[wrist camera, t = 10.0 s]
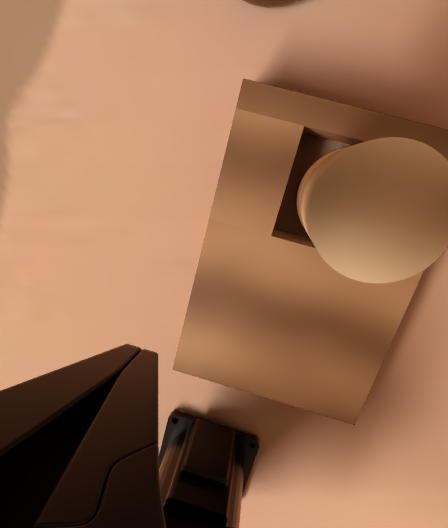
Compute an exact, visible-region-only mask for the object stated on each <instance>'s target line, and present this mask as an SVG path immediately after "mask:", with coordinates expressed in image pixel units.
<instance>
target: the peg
mask: <svg viewBox="0 0 448 528" xmlns="http://www.w3.org/2000/svg"><path fill="white" fill-rule="evenodd" d="M297 211H298V215H299V218H300V221H301V223H302V225H303V227H304V228H305V230H306V232H307V234H308V235H309V237H310V239H311V241H312V242H313V244H314V246H315V248H316V249H317V251H318V252H319V254H320V256H321V257H322V258H323V259H324V260H325V262H326V263H327V264H328V265H329V266H331V267H332V268H333V269H334V270H336V271H337V272H339V273H340V274H342V275H344V276H346V277H348V278H350V279H353V280H356V281H360V282H365V283H375V284H377V283H390V282H396V281H400V280H403V279H406V278H409V277H411V276H414V275H416V274H417V273H419V272H421V271H423V270H424V269H426V268H427V267H429V266H430V265H431V264H433V263H434V262H435V261H436V260H437V259H438V258H439V257H440V256H441V255H442V254H443V253H444V252H445V251H446V249H447V248H448V161H447V159H446V158H445V157H444V156H442V155H441V154H440V153H439V152H438V151H436V150H435V149H434V148H432V147H430V146H428V145H426V144H424V143H422V142H419V141H416V140H413V139H408V138H403V137H387V138H379V139H374V140H370V141H366V142H363V143H359V144H356V145H352V146H349V147H345V148H341V149H338V150H335V151H332V152H330V153H328V154H326V155H324V156H323V157H321V158H320V159H318V160H317V161H316V162H315V163H314V164H313V165H312V166H311V167H310V168H309V169H308V171H307V172H306V173H305V175H304V177H303V179H302V180H301V183H300V186H299V189H298V193H297Z"/></svg>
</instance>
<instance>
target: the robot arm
mask: <svg viewBox="0 0 448 528" xmlns="http://www.w3.org/2000/svg"><path fill="white" fill-rule="evenodd" d="M174 418H177V419H178V420H175V419H174ZM250 442H254V444H251V443H250ZM258 449H259V438H258V437H257V436H255V435H253V434H249V433H246V432H243V431H240V430H237V429H233V428H230V427H227V426H224V425H221V424H217V423H214V422H211V421H208V420H205V419H201V418H198V417H195V416H192V415H189V414H185V413H182V412H179V411H173V412H171V414H170V416H169V418H168V422H167V426H166V430H165V434H164V438H163V442H162V446H161V450H160V454H159V448H158V354H157V353H156V352H153V351H149V350H146V349H143V350H141V348H139V347H136V346H133V345H129V344H125V345H122V346H120V347H117V348H114V349H112V350H109V351H106V352H103V353H101V354H98V355H95V356H93V357H90V358H87V359H85V360H82V361H79V362H77V363H74V364H71V365H69V366H66V367H63V368H60V369H58V370H55V371H52V372H50V373H47V374H44V375H42V376H39V377H36V378H34V379H31V380H28V381H26V382H23V383H20V384H17V385H15V386H12V387H9V388H7V389H4V390H1V391H0V528H239V522H240V510H241V499H242V494H243V491H244V488H245V485H246V482H247V480H248V477H249V474H250V471H251V468H252V466H253V463H254V460H255V457H256V454H257V452H258Z"/></svg>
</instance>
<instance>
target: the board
mask: <svg viewBox="0 0 448 528" xmlns="http://www.w3.org/2000/svg"><path fill="white" fill-rule="evenodd" d="M302 132H303V133H307V134H311V135H315V136H319V137H323V138H326V139H330V140H334V141H338V142H342V143H346V144H350V145H356V144H359V143H363V142H366V141H370V140H374V139H379V138H387V137H403V138H408V139H413V140H416V141H419V142H422V143H424V144H426V145H428V146H430V147H432V148H434V149H435V150H436V151H438V152H439V153H440V154H441V155H442V156H444V157H445V158H446V159H447V161H448V130H446V129H442V128H438V127H434V126H430V125H426V124H422V123H418V122H414V121H410V120H406V119H402V118H398V117H395V116H391V115H387V114H383V113H379V112H375V111H371V110H367V109H363V108H359V107H355V106H351V105H347V104H343V103H339V102H335V101H331V100H327V99H323V98H319V97H315V96H311V95H307V94H303V93H299V92H295V91H291V90H287V89H283V88H279V87H275V86H271V85H267V84H263V83H259V82H255V81H251V80H247V79H243V82H242V86H241V90H240V94H239V98H238V102H237V107H236V111H235V115H234V119H233V123H232V127H231V131H230V135H229V140H228V144H227V148H226V152H225V156H224V160H223V164H222V168H221V172H220V177H219V181H218V185H217V189H216V193H215V197H214V201H213V205H212V210H211V214H210V218H209V222H208V226H207V230H206V234H205V238H204V243H203V247H202V251H201V255H200V259H199V263H198V267H197V271H196V276H195V280H194V284H193V288H192V292H191V296H190V300H189V304H188V309H187V313H186V317H185V321H184V325H183V329H182V333H181V337H180V341H179V346H178V350H177V354H176V358H175V362H174V366H173V370H176V371H179V372H182V373H185V374H189V375H192V376H195V377H199V378H202V379H205V380H208V381H212V382H215V383H218V384H222V385H225V386H228V387H231V388H235V389H238V390H241V391H244V392H248V393H251V394H254V395H258V396H261V397H264V398H267V399H271V400H274V401H277V402H281V403H284V404H287V405H290V406H294V407H297V408H300V409H303V410H307V411H310V412H313V413H317V414H320V415H323V416H326V417H330V418H333V419H336V420H340V421H343V422H346V423H349V424H353V425H355V422H356V420H357V418H358V416H359V414H360V411H361V409H362V407H363V405H364V402H365V400H366V398H367V396H368V394H369V391H370V389H371V387H372V385H373V383H374V380H375V378H376V376H377V374H378V371H379V369H380V367H381V365H382V363H383V360H384V358H385V356H386V354H387V351H388V349H389V347H390V345H391V343H392V340H393V338H394V336H395V334H396V331H397V329H398V327H399V325H400V323H401V320H402V318H403V316H404V314H405V312H406V309H407V307H408V305H409V303H410V300H411V298H412V296H413V294H414V292H415V289H416V287H417V285H418V283H419V280H420V278H421V276H422V274H423V272H424V270H423V271H421V272H419V273H417V274H416V275H414V276H411V277H409V278H406V279H403V280H400V281H396V282H390V283H377V284H375V283H365V282H360V281H356V280H353V279H350V278H348V277H346V276H344V275H342V274H340V273H339V272H337V271H336V270H334V269H333V268H332V267H331V266H329V265H328V264H327V263H326V262H325V260H324V259H323V258H322V257H321V256H320V254H319V252H318V251H317V249H316V248H315V246H314V244H313V242H312V241H311V239H309V238H305V237H302V236H298V235H294V234H291V233H287V232H283V231H280V230H276V229H273V228H274V225H275V222H276V218H277V215H278V212H279V208H280V205H281V202H282V198H283V195H284V192H285V188H286V185H287V182H288V178H289V175H290V172H291V168H292V165H293V162H294V158H295V155H296V152H297V149H298V145H299V142H300V139H301V135H302Z"/></svg>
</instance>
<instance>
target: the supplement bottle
mask: <svg viewBox="0 0 448 528" xmlns="http://www.w3.org/2000/svg"><path fill="white" fill-rule="evenodd" d="M243 1H245V2H247V3H250V4H252V5H256V6H260V7H268V8H273V7H282V6H287V5H290V4H293V3H296V2H298V1H300V0H243Z"/></svg>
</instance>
